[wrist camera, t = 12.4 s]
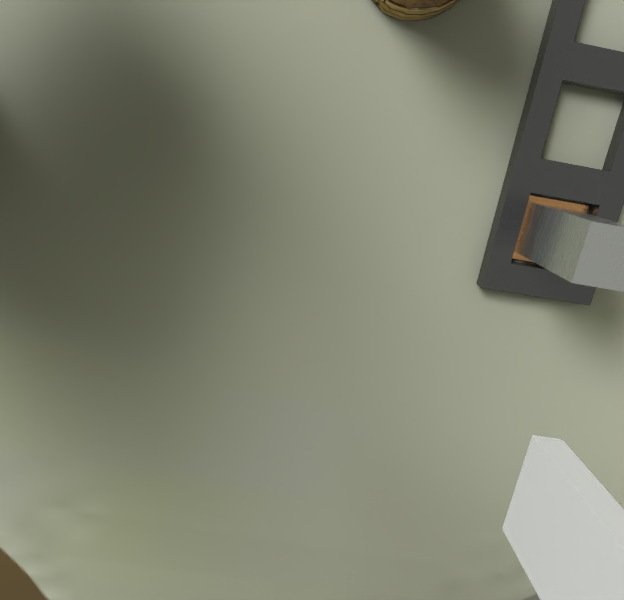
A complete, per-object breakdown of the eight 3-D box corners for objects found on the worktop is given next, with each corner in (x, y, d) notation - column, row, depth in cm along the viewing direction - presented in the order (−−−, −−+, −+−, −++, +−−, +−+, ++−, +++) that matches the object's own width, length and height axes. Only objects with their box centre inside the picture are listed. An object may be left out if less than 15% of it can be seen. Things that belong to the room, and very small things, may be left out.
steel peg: (516, 252, 45) (571, 282, 37) (531, 202, 44) (591, 221, 36) (564, 261, 46) (630, 292, 37) (580, 211, 45) (651, 232, 36)
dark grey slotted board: (476, 283, 46) (481, 287, 45) (575, -85, 39) (584, -91, 38) (582, 300, 47) (589, 305, 46) (698, -56, 40) (710, -61, 38)
